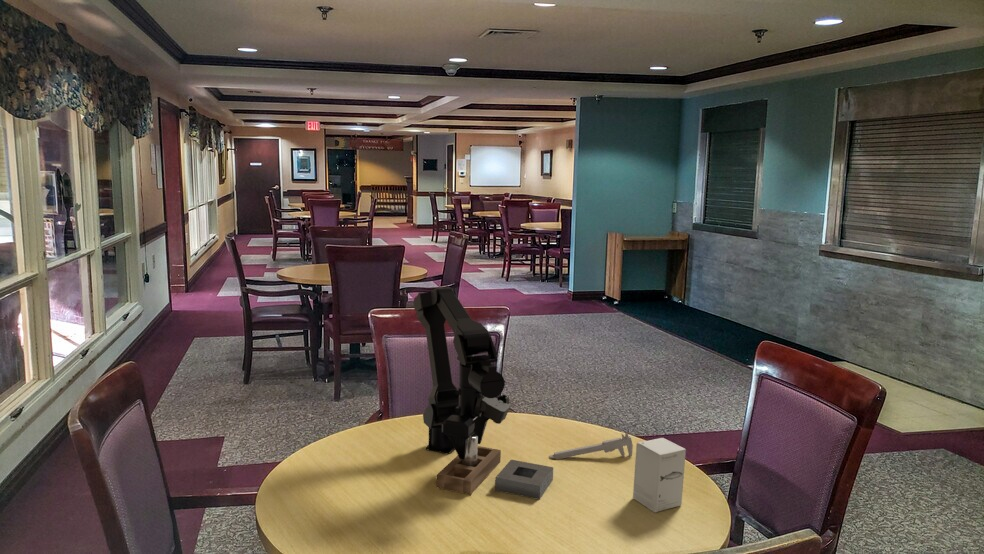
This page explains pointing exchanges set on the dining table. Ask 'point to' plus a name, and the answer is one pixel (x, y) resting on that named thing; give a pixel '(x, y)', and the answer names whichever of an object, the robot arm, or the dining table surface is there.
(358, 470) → the dining table surface
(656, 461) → the supplement box
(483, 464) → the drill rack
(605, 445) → the caliper
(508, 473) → the socket block
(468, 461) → the metal peg
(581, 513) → the dining table surface
